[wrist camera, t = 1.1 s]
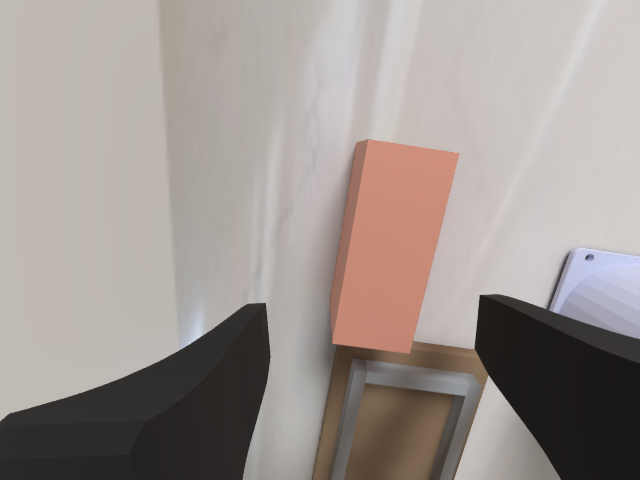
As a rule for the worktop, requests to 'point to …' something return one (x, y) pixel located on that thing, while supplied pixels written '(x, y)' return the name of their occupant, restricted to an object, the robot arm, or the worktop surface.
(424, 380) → the cradle
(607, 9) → the worktop surface
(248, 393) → the robot arm
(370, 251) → the block
